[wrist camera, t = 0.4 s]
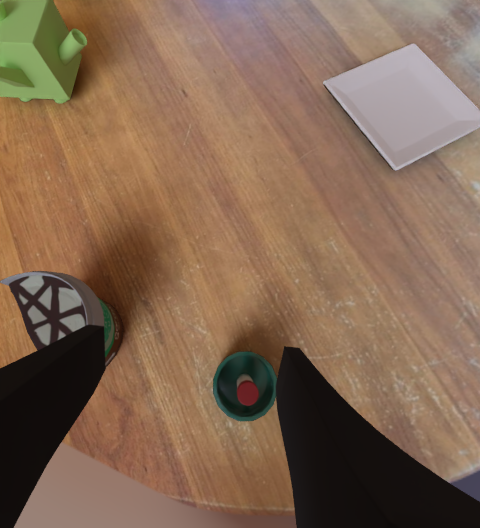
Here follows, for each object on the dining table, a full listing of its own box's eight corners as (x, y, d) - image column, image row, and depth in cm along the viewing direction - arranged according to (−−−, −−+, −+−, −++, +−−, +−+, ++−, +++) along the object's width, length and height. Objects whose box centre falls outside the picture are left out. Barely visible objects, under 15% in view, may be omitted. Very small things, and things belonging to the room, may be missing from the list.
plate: (318, 92, 46) (322, 80, 44) (407, 53, 48) (414, 41, 46) (388, 178, 41) (396, 170, 39) (480, 130, 44) (492, 120, 42)
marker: (252, 390, 32) (259, 405, 24) (236, 390, 32) (237, 406, 24) (252, 372, 32) (258, 381, 24) (235, 373, 32) (236, 382, 24)
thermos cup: (274, 412, 32) (279, 420, 28) (215, 414, 32) (212, 422, 28) (271, 350, 34) (275, 350, 30) (215, 351, 33) (213, 352, 30)
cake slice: (151, 352, 33) (118, 354, 24) (104, 383, 32) (50, 398, 23) (106, 270, 36) (60, 242, 26) (61, 295, 35) (-4, 276, 25)
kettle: (-17, 80, 45) (-97, -4, 34) (57, 38, 48) (7, -52, 37) (35, 136, 42) (-34, 62, 31) (111, 86, 45) (72, 4, 34)
